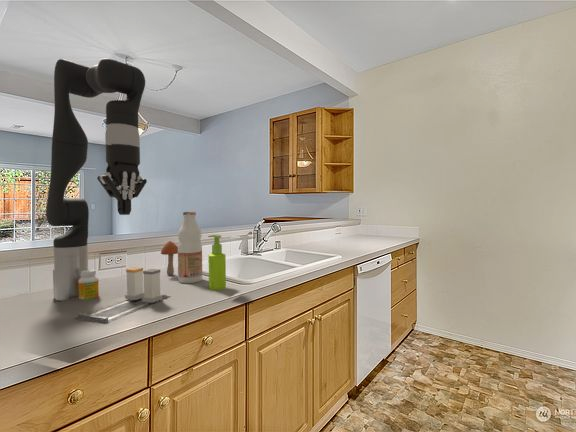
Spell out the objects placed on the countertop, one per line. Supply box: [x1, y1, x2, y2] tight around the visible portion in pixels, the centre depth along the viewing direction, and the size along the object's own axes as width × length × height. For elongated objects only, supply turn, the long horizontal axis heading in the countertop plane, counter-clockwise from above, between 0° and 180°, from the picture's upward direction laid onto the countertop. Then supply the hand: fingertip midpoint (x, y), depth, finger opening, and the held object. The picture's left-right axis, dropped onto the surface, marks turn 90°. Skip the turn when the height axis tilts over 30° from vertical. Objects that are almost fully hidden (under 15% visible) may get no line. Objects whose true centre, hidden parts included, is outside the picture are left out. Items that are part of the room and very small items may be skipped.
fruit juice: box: [177, 211, 203, 284], centre depth 123 cm, size 9×9×28 cm
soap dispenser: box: [207, 234, 227, 291], centre depth 109 cm, size 6×7×20 cm
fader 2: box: [142, 268, 162, 303], centre depth 93 cm, size 4×4×9 cm
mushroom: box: [160, 240, 178, 276], centre depth 134 cm, size 8×8×15 cm
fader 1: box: [124, 267, 144, 300], centre depth 96 cm, size 4×4×9 cm
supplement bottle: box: [78, 269, 100, 301], centre depth 98 cm, size 5×5×10 cm
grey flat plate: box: [73, 291, 172, 325], centre depth 89 cm, size 11×24×2 cm, turn 161°
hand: (124, 214), depth 77 cm, fingers closed
